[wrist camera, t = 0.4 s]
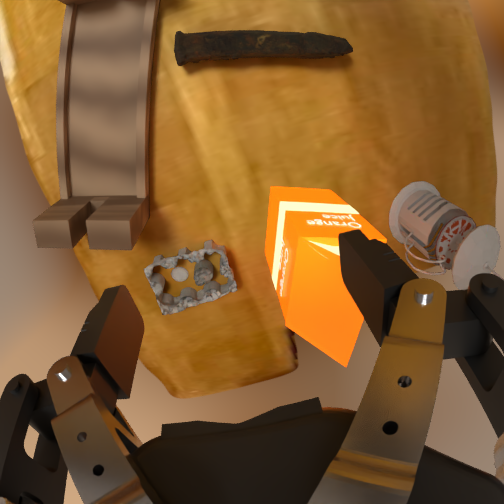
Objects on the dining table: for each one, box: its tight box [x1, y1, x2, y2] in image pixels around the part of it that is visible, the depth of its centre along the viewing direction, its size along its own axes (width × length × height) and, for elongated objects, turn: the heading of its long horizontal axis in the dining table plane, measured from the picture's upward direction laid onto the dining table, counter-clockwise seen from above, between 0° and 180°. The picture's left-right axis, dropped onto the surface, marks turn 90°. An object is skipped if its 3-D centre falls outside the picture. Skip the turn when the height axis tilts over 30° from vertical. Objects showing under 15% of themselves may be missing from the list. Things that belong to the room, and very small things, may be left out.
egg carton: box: [144, 240, 237, 315], centre depth 38 cm, size 11×8×4 cm
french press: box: [389, 181, 504, 290], centre depth 28 cm, size 10×12×25 cm
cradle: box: [33, 0, 160, 250], centre depth 25 cm, size 30×11×9 cm, turn 175°
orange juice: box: [265, 186, 387, 367], centre depth 29 cm, size 8×9×20 cm
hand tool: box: [174, 30, 353, 66], centre depth 27 cm, size 19×4×5 cm, turn 89°
